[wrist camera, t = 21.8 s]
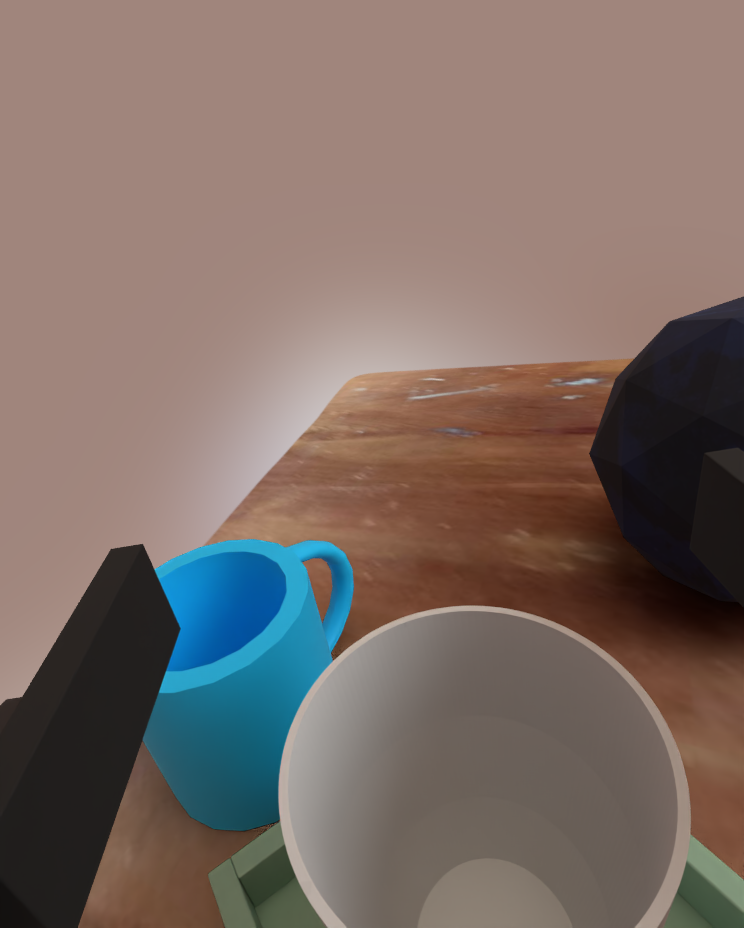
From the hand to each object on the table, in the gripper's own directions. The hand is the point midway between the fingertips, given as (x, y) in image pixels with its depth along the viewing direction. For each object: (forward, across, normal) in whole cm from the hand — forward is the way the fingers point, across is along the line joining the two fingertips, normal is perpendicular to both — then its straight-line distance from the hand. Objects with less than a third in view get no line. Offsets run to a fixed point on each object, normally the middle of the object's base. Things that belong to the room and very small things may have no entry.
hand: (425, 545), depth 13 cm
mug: (+7, -7, -14) cm, 17 cm away
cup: (-3, 0, -13) cm, 13 cm away
